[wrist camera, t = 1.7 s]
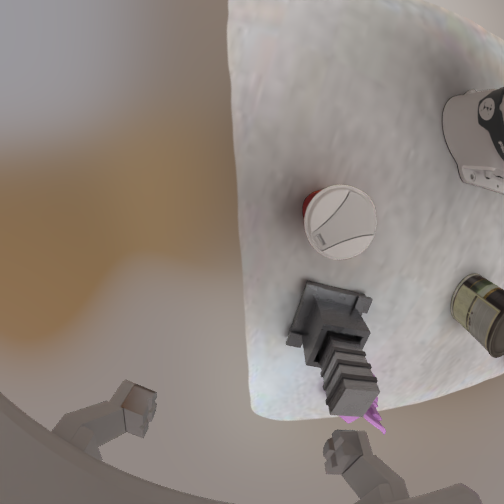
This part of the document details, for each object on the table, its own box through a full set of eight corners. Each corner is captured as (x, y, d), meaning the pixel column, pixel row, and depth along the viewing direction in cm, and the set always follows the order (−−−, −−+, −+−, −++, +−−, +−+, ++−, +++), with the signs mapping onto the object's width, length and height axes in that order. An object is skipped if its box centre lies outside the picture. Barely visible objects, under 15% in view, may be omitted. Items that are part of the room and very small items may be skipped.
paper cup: (312, 245, 40) (330, 277, 26) (284, 201, 39) (290, 212, 25) (356, 217, 38) (393, 236, 25) (329, 172, 37) (358, 169, 24)
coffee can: (475, 262, 38) (522, 288, 24) (490, 294, 39) (530, 323, 26) (442, 301, 40) (484, 338, 27) (459, 330, 42) (495, 367, 28)
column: (346, 312, 40) (381, 390, 22) (336, 335, 41) (363, 417, 24) (320, 307, 40) (345, 387, 23) (311, 330, 41) (328, 415, 24)
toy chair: (319, 382, 46) (329, 442, 32) (357, 356, 44) (380, 414, 30) (341, 401, 48) (354, 457, 33) (377, 378, 46) (399, 433, 31)
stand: (367, 292, 41) (389, 323, 31) (343, 347, 44) (357, 385, 34) (305, 277, 41) (314, 307, 31) (285, 335, 44) (287, 375, 34)
